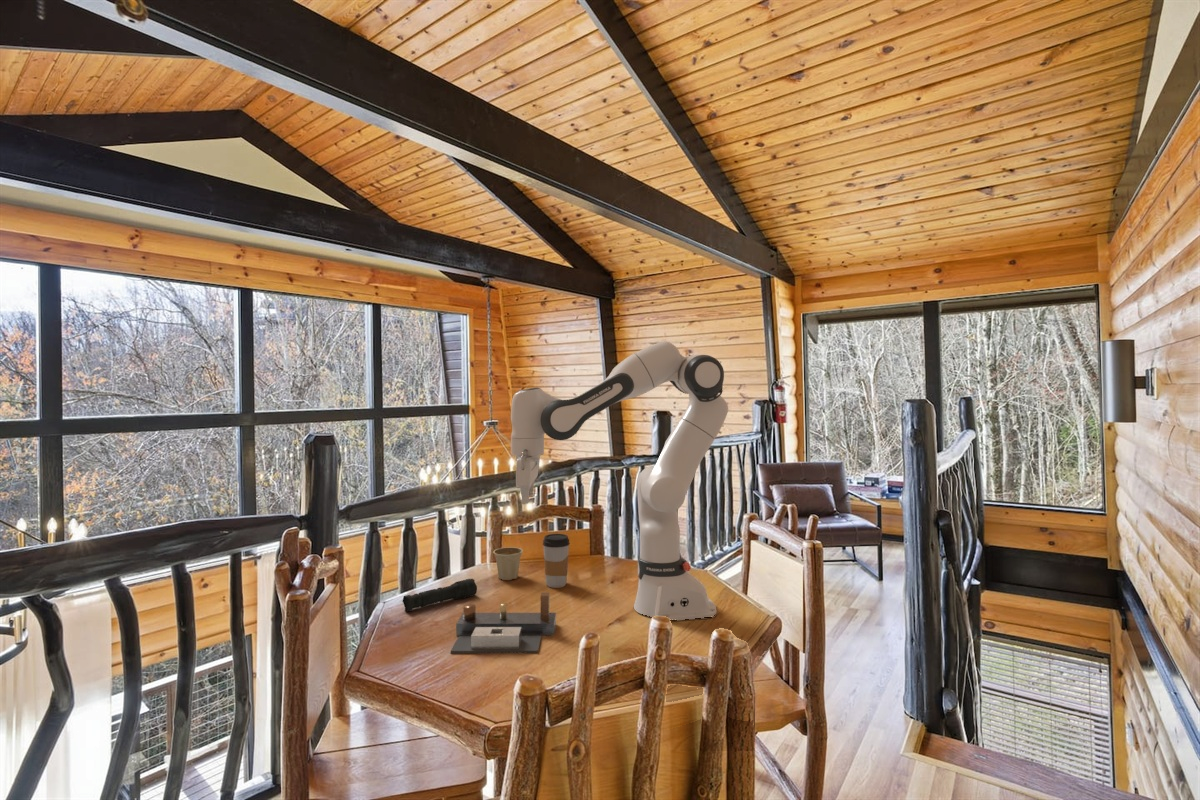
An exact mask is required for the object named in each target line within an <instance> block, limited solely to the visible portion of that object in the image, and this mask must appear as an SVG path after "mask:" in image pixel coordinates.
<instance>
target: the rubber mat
mask: <svg viewBox="0 0 1200 800" xmlns="http://www.w3.org/2000/svg"><path fill="white" fill-rule="evenodd" d="M541 641H542V636H522V640H521V643H520V646H519V649H471V636H457V638H456V641H454V644H453V646H452V647H451V650H450V654H538V653H539V650H540V645H541Z"/></svg>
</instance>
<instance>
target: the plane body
mask: <svg viewBox="0 0 1200 800" xmlns="http://www.w3.org/2000/svg"><path fill="white" fill-rule="evenodd" d="M462 607H463V608H462V609H463V611H462V613H461V615H460V616H459V618H458V620H457V622H456V624H455V626H456V627H455V629H456V631H455V632H456V633H455V636H456V637H459V636H471V635H472V633H473V631H474V629H475V627H522V636H541V637H542V636H543V637H544V636H545V637H547V636H548V637H549V636H550V637H551V635H553V636H555V632H556V625H557V612H550V592H541V593H540V612H508V611H507V610H508V609H507V608H508V607H507V603H505V602H502V603H500V604H499V612H476V611H477V610H476V607H477V606H476V604H474V603H469V604H464V605H463V606H462ZM553 636H552V637H553Z"/></svg>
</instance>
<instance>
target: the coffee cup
mask: <svg viewBox="0 0 1200 800" xmlns="http://www.w3.org/2000/svg"><path fill="white" fill-rule="evenodd" d="M542 545H543V560H544V561H543V564H544V576H545V583H546V586H547V587H548V588H553V589H554V588H555V589H556V588H557V589H558V588H563V587H565V586H566V585H567V579H568V569H569V549H570V547H569V546H570V539H569V536H568V535H567V534H564V533H550V534H546V535H544V537H543V540H542Z"/></svg>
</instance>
